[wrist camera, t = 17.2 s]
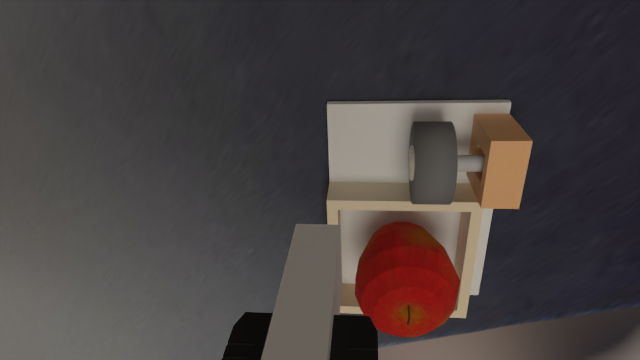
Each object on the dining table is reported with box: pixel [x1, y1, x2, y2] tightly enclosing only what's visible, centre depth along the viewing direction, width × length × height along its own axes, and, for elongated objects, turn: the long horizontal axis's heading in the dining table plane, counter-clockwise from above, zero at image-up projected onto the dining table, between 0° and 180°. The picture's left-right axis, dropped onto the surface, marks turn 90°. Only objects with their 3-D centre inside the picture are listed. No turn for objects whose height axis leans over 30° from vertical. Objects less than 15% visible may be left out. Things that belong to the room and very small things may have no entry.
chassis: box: [327, 100, 533, 318], centre depth 41 cm, size 16×22×7 cm
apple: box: [355, 222, 460, 337], centre depth 40 cm, size 9×9×12 cm
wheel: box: [409, 121, 485, 205], centre depth 36 cm, size 8×7×7 cm
